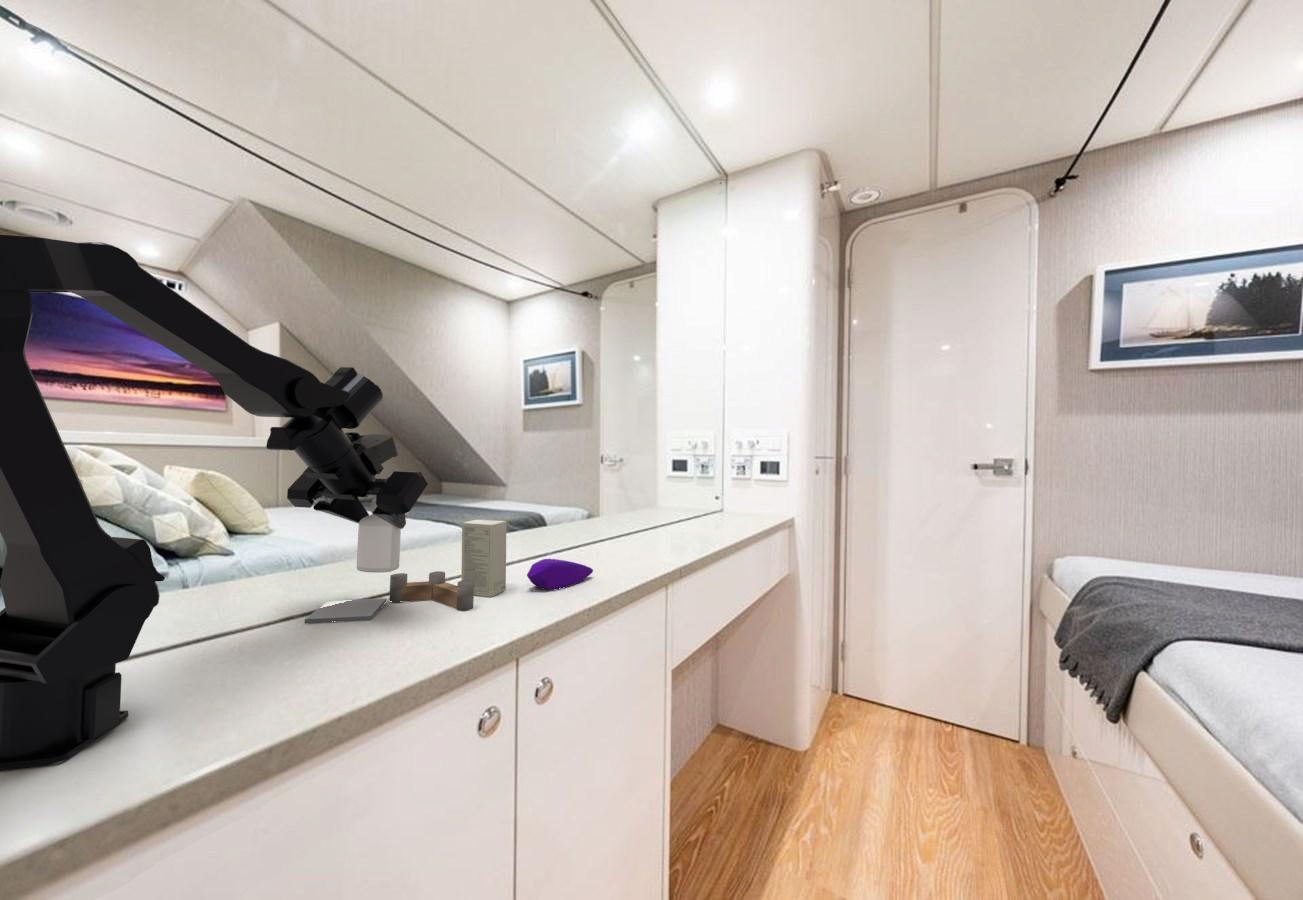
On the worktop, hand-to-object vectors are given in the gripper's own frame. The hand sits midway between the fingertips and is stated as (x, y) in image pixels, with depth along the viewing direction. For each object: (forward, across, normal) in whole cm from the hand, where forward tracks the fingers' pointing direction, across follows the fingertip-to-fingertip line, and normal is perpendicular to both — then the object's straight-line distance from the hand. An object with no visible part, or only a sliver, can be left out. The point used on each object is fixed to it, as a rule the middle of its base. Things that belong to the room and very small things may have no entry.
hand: (386, 525), depth 72 cm
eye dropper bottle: (+4, 0, +6) cm, 7 cm away
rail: (+10, -7, +7) cm, 14 cm away
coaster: (+6, +2, +12) cm, 13 cm away
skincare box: (+16, -11, +2) cm, 19 cm away
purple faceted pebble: (+22, -22, -4) cm, 31 cm away
